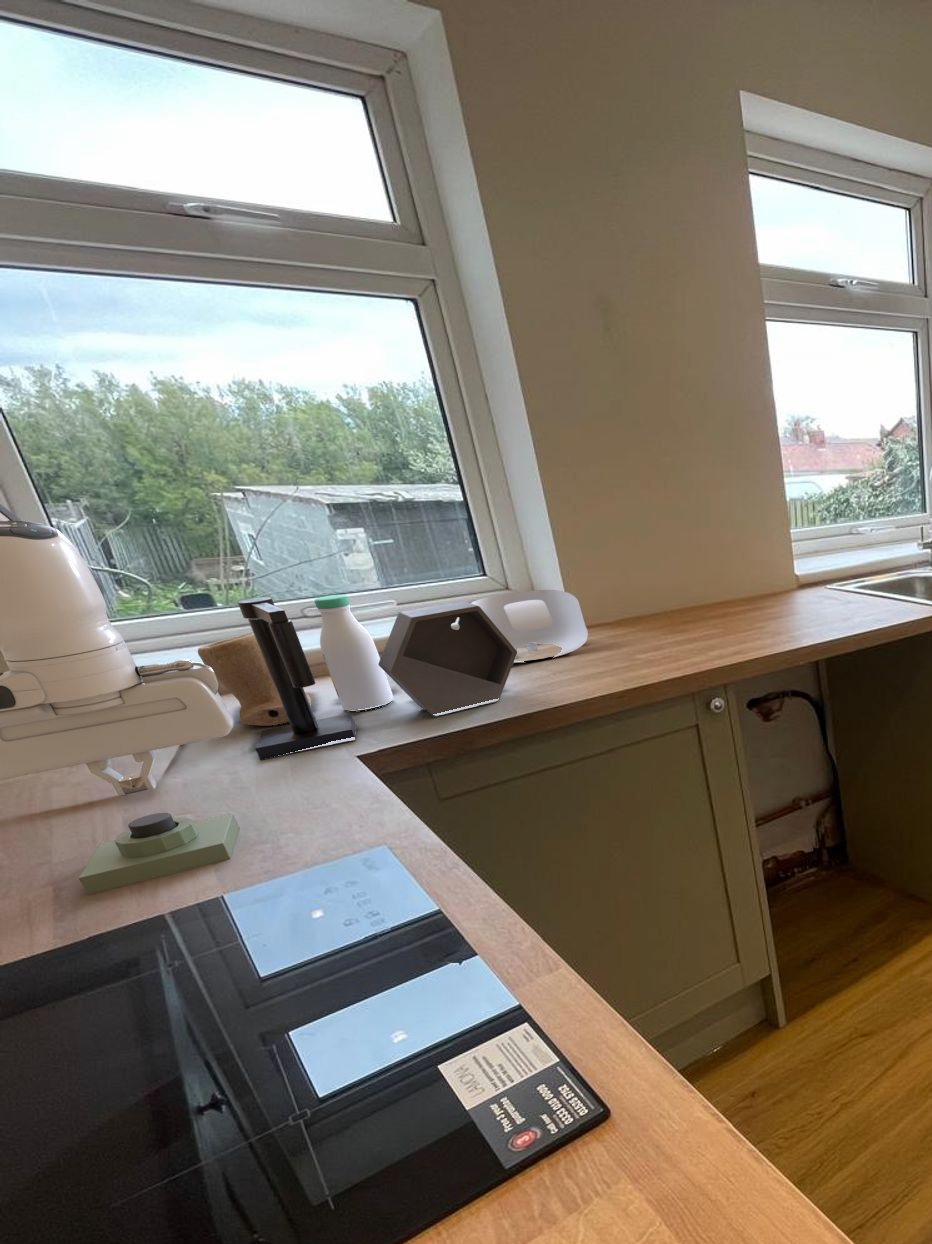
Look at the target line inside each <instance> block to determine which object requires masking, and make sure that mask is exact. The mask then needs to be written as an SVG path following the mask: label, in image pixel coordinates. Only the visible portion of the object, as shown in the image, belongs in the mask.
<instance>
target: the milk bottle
mask: <svg viewBox="0 0 932 1244" xmlns="http://www.w3.org/2000/svg"><path fill="white" fill-rule="evenodd" d="M314 604H315V607H316V609H317V612H318V613H319V614H320V616H321V630H320V636H319V646H320V650H321V653H322V656H323V660H324V662H325V665H326V668H327V671H328V674H329V676H330V679H331V682H332V685H333V688H334V690H335V692H336V695H337V698H338V700H339V703H340V706H341V708H342V709H343V710H344V709H345V710H358V709H365V708H370V707H375V706H378V705H382V704H385V703H388V702H390V701H392V700H393V701H394V694H393V691H392V689H391V686H390V682H389V680H388V677H387V673H386V672H385V671H384V670H383V669H382V668H381V667H380V666H379V665H378V664H379V661H380V658H381V656H380V654H379V652H378V649H377V647H376V644H375V641H374V639H373V638H372V636H371V635H370V633H369V631H368V630H367V629H366V628H365V627H364V626H363V625H362V624H361V623H360V622H359V621H358V620H357V618H356V617H355V616H354V615H353V613H352V611H351V605H350V600H349V598H348V596H347V595H345V594H333V595H326V596H321V597H317V598H315V599H314ZM345 710H344V711H345Z"/></svg>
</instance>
